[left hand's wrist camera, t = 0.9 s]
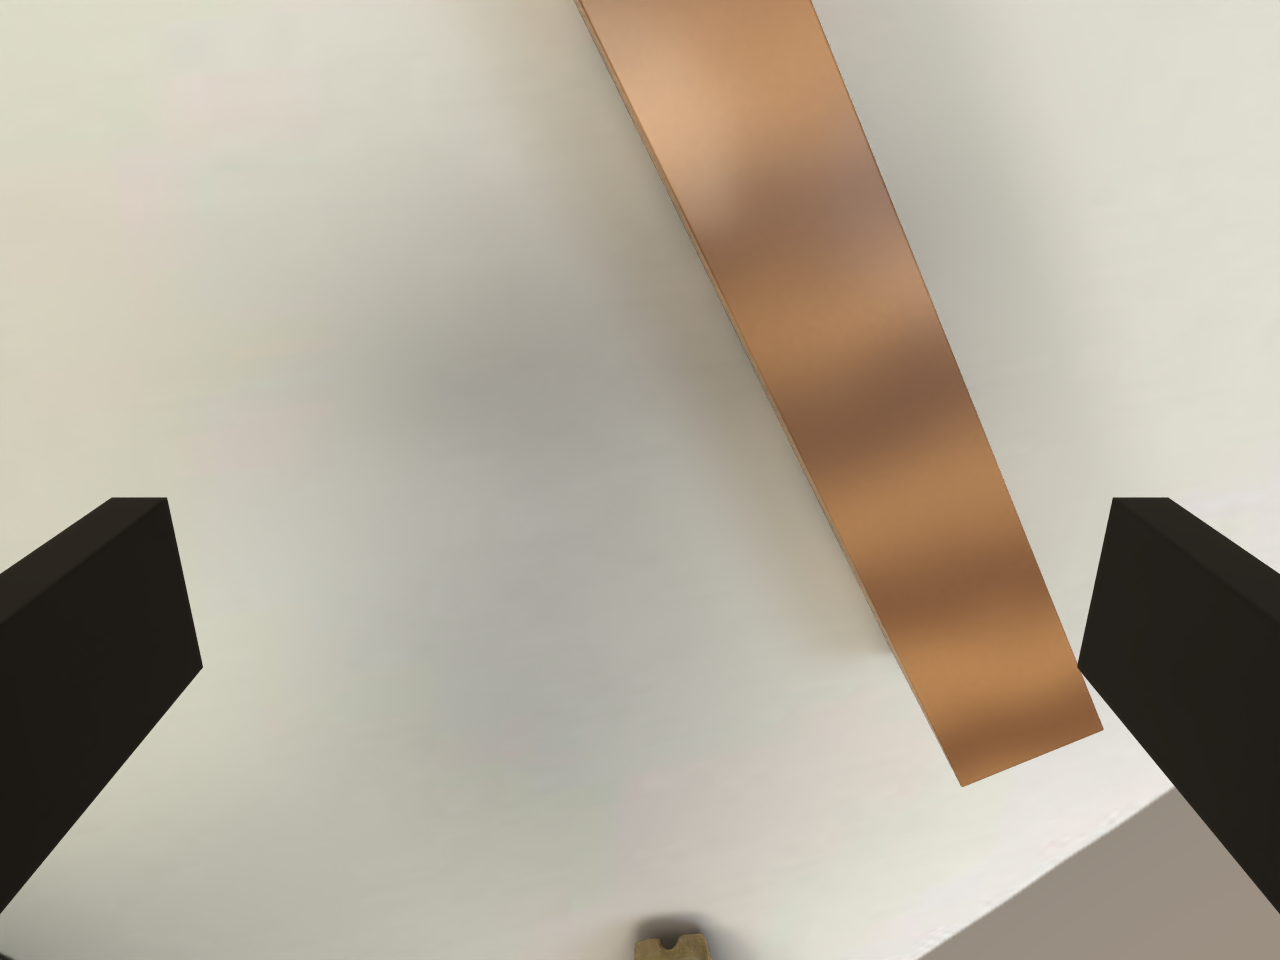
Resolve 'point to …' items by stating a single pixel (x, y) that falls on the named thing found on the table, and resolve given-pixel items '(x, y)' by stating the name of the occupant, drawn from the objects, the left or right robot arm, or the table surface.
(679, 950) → the sculpture
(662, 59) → the bar
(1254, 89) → the table surface
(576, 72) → the table surface
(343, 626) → the table surface
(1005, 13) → the table surface
